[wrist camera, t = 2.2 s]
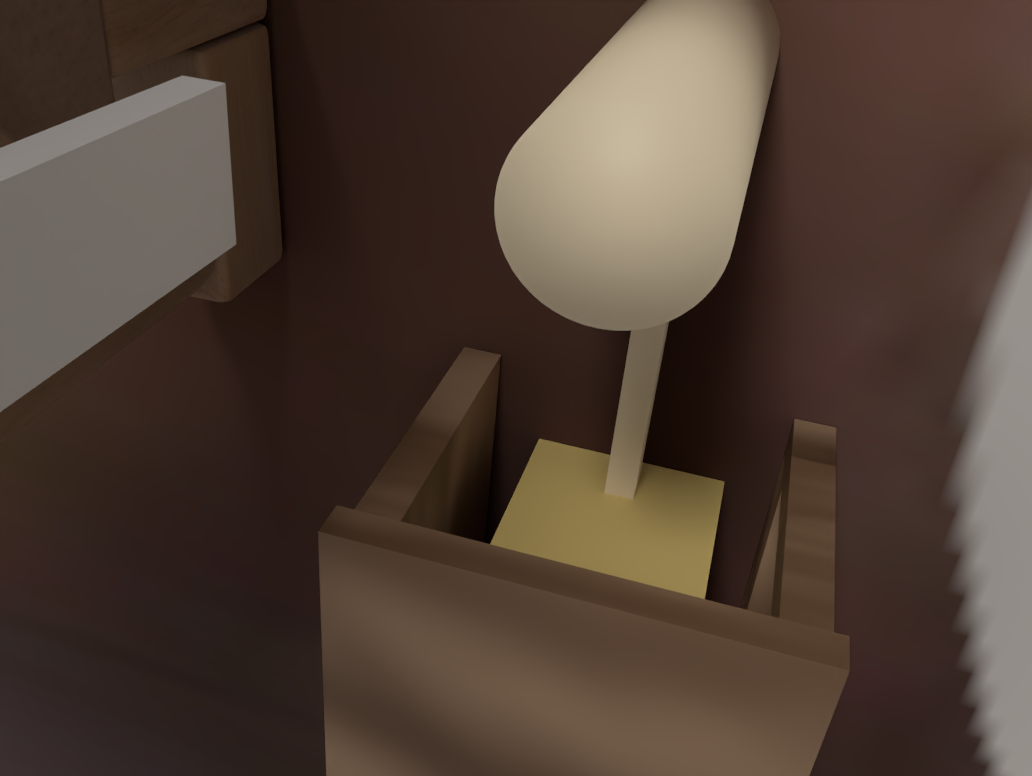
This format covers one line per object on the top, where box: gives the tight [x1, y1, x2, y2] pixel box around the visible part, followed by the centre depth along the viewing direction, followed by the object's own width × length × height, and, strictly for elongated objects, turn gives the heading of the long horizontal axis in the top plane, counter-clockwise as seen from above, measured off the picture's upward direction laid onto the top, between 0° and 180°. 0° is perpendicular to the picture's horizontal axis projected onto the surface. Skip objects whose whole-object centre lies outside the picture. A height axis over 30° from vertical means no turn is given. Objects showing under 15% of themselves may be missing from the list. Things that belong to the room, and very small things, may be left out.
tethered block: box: [490, 0, 780, 599], centre depth 24 cm, size 22×6×12 cm, turn 175°
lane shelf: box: [318, 347, 850, 776], centre depth 29 cm, size 13×12×10 cm
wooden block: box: [0, 0, 283, 443], centre depth 21 cm, size 4×11×18 cm, turn 176°
